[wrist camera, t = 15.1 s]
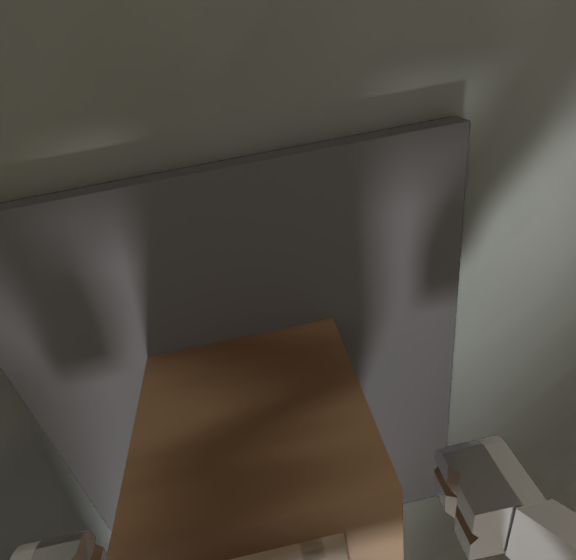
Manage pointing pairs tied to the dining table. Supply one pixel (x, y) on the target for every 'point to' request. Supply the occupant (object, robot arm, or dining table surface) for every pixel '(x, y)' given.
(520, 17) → the dining table surface
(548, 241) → the dining table surface
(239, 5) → the dining table surface
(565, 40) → the dining table surface
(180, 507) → the walnut cube
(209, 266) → the mat
